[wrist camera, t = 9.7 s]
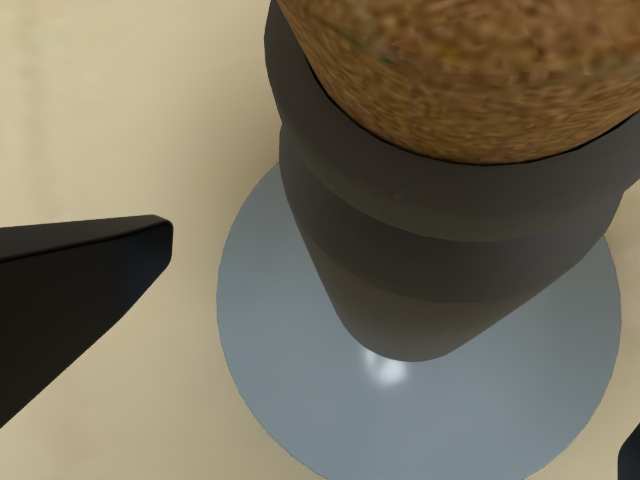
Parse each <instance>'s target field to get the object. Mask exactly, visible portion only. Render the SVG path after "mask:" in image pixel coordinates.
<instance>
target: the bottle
mask: <svg viewBox="0 0 640 480" xmlns="http://www.w3.org/2000/svg"><path fill="white" fill-rule="evenodd" d="M264 47H265V61H266V68H267V72H268V77H269V81H270V85H271V88H272V92H273V95H274V98H275V102H276V105H277V109H278V112H279V115H280V118H281V121H282V126H281V130H280V145H279V165H280V172H281V178H282V182H283V186H284V190H285V194H286V198H287V201H288V204H289V206H290V209H291V211H292V214H293V217H294V219H295V222H296V224H297V227H298V229H299V232H300V234H301V236H302V238H303V241H304V243H305V245H306V248H307V250H308V252H309V254H310V257H311V259H312V261H313V264H314V266H315V268H316V270H317V273H318V275H319V277H320V280H321V282H322V284H323V286H324V288H325V290H326V292H327V295H328V297H329V299H330V301H331V303H332V305H333V308H334V310H335V312H336V314H337V316H338V317H339V319H340V321H341V322H342V324H343V326H344V327H345V328H346V329H347V331H348V332H349V333H350V334H351V336H352V337H353V338H354V339H356V340H357V341H358V342H359V343H360V344H361V345H362V346H364V347H365V348H367V349H368V350H370V351H372V352H374V353H376V354H377V355H380V356H382V357H385V358H388V359H392V360H396V361H403V362H423V361H428V360H432V359H436V358H439V357H442V356H444V355H447V354H448V353H450V352H452V351H454V350H455V349H457V348H459V347H461V346H462V345H464V344H465V343H467V342H468V341H470V340H472V339H473V338H475V337H476V336H478V335H479V334H481V333H482V332H484V331H485V330H487V329H488V328H490V327H491V326H492V325H494V324H495V323H497V322H498V321H500V320H501V319H503V318H504V317H506V316H507V315H509V314H510V313H512V312H513V311H514V310H516V309H517V308H519V307H520V306H522V305H523V304H525V303H526V302H528V301H529V300H531V299H532V298H533V297H535V296H536V295H537V294H539V293H540V292H541V291H543V290H544V289H545V288H547V287H548V286H549V285H551V284H552V283H553V282H555V281H556V280H557V279H558V278H560V277H561V276H562V275H564V274H565V273H566V272H568V271H569V270H570V269H571V268H573V267H574V266H575V265H576V264H577V263H579V262H580V261H581V260H582V259H583V258H584V257H585V255H586V254H587V253H588V252H589V251H590V250H591V248H592V247H593V246H594V245H595V244H596V243H597V241H598V240H599V239H600V238H601V237H602V236H603V234H604V233H605V232H606V230H607V228H608V227H609V225H610V223H611V222H612V219H613V217H614V215H615V213H616V211H617V208H618V206H619V204H620V201H621V198H622V196H623V193H624V191H626V190H627V189H628V188H629V187H630V186H632V185H633V184H634V183H635V182H636V181H637V180H639V179H640V0H271V2H270V7H269V12H268V17H267V22H266V27H265V34H264Z"/></svg>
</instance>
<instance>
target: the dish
mask: <svg viewBox="0 0 640 480" xmlns="http://www.w3.org/2000/svg"><path fill="white" fill-rule="evenodd" d="M216 298H217V321H218V327H219V333H220V339H221V345H222V348H223V351H224V355H225V358H226V361H227V365H228V368H229V371H230V373H231V375H232V377H233V379H234V382H235V384H236V386H237V388H238V390H239V393H240V394H241V396H242V397H243V399H244V401H245V402H246V404H247V405H248V407H249V409H250V410H251V412H252V413H253V415H254V417H255V418H256V419H257V420H258V421H259V423H260V424H261V425H262V426H263V427H264V429H265V430H266V431H267V432H268V433H269V435H270V436H271V437H272V438H273V439H274V440H275V441H276V442H277V443H278V444H279V445H280V446H282V447H283V448H284V449H285V450H286V451H287V452H288V453H289V454H290V455H291V456H292V457H294V458H295V459H297V460H298V461H299V462H301V463H302V464H304V465H305V466H307V467H308V468H309V469H311V470H312V471H314V472H315V473H317V474H318V475H320V476H322V477H324V478H326V479H328V480H523V479H525V478H527V477H528V476H530V475H532V474H533V473H535V472H537V471H538V470H540V469H541V468H543V467H545V466H546V465H547V464H548V463H549V462H550V461H552V460H553V459H554V458H555V457H556V456H558V455H559V454H560V453H561V452H562V451H563V450H565V449H566V448H567V447H568V446H569V444H570V443H571V442H572V441H573V440H574V439H575V437H576V436H577V435H578V434H579V433H580V432H581V430H582V429H583V428H584V427H585V426H586V424H587V423H588V421H589V419H590V418H591V416H592V415H593V413H594V411H595V410H596V408H597V407H598V405H599V403H600V402H601V399H602V397H603V395H604V392H605V390H606V388H607V385H608V383H609V381H610V378H611V376H612V372H613V368H614V364H615V360H616V356H617V353H618V349H619V339H620V329H621V303H620V291H619V285H618V280H617V275H616V269H615V266H614V263H613V260H612V257H611V254H610V251H609V248H608V245H607V242H606V240H605V238H604V236H602V237H601V238H600V239H599V240H598V241H597V243H596V244H595V245H594V246H593V247H592V248H591V250H590V251H589V252H588V253H587V254H586V255H585V257H584V258H583V259H582V260H581V261H580V262H579V263H577V264H576V265H575V266H574V267H573V268H571V269H570V270H569V271H568V272H566V273H565V274H564V275H562V276H561V277H560V278H558V279H557V280H556V281H555V282H553V283H552V284H551V285H549V286H548V287H547V288H545V289H544V290H543V291H541V292H540V293H539V294H537V295H536V296H535V297H533V298H532V299H531V300H529V301H528V302H526V303H525V304H523V305H522V306H520V307H519V308H517V309H516V310H514V311H513V312H512V313H510V314H509V315H507V316H506V317H504V318H503V319H501V320H500V321H498V322H497V323H495V324H494V325H492V326H491V327H490V328H488V329H487V330H485V331H484V332H482V333H481V334H479V335H478V336H476V337H475V338H473V339H472V340H470V341H468V342H467V343H465V344H464V345H462V346H461V347H459V348H457V349H455V350H454V351H452V352H450V353H448V354H447V355H444V356H442V357H439V358H436V359H432V360H428V361H423V362H403V361H396V360H392V359H388V358H385V357H382V356H380V355H377V354H376V353H374V352H372V351H370V350H368V349H367V348H365V347H364V346H362V345H361V344H360V343H359V342H358V341H357V340H356V339H354V338H353V337H352V336H351V334H350V333H349V332H348V331H347V329H346V328H345V327H344V326H343V324H342V322H341V321H340V319H339V317H338V316H337V314H336V312H335V310H334V308H333V305H332V303H331V301H330V299H329V297H328V295H327V292H326V290H325V288H324V286H323V284H322V282H321V280H320V277H319V275H318V273H317V270H316V268H315V266H314V264H313V261H312V259H311V257H310V254H309V252H308V250H307V248H306V245H305V243H304V241H303V238H302V236H301V234H300V232H299V229H298V227H297V224H296V222H295V219H294V217H293V214H292V211H291V209H290V206H289V204H288V201H287V198H286V194H285V190H284V186H283V182H282V178H281V172H280V165H279V162H278V163H277V164H276V165H275V166H274V167H273V168H272V169H271V170H270V171H269V172H268V173H267V174H266V175H265V176H264V177H263V179H262V180H261V181H260V182H259V183H258V184H257V185H256V186H255V188H254V189H253V191H252V192H251V194H250V195H249V197H248V198H247V200H246V201H245V202H244V204H243V205H242V207H241V209H240V211H239V213H238V215H237V217H236V219H235V221H234V223H233V225H232V227H231V230H230V233H229V235H228V238H227V241H226V243H225V246H224V250H223V254H222V258H221V263H220V267H219V273H218V283H217V294H216Z"/></svg>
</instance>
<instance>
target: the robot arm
mask: <svg viewBox="0 0 640 480" xmlns="http://www.w3.org/2000/svg"><path fill="white" fill-rule="evenodd" d="M172 243H173V225H172V223H171V222H170V221H169V220H167V219H164V218H162V217H159V216H157V215H140V216H129V217H118V218H106V219H95V220H83V221H72V222H60V223H49V224H37V225H26V226H14V227H3V228H0V429H1V428H2V427H3V426H4V425H5V424H6V423H7V422H8V421H9V420H11V419H12V418H13V417H14V416H15V415H16V414H17V413H18V412H19V411H20V410H22V409H23V408H24V407H25V406H26V405H27V404H28V403H29V402H30V401H31V400H32V399H34V398H35V397H36V396H37V395H38V394H39V393H40V392H41V391H42V390H43V389H45V388H46V387H47V386H48V385H49V384H50V383H51V382H52V381H53V380H54V379H56V378H57V377H58V376H59V375H60V374H61V373H62V372H63V371H64V370H65V369H66V368H68V367H69V366H70V365H71V364H72V363H73V362H74V361H75V360H76V359H77V358H79V357H80V356H81V355H82V354H83V353H84V352H85V351H86V350H87V349H88V348H90V347H91V346H92V345H93V344H94V343H95V342H96V341H97V340H98V339H99V338H100V337H102V336H103V335H104V334H105V333H106V332H107V331H108V330H109V329H110V328H111V327H113V326H114V325H115V324H116V323H117V322H118V321H119V320H120V319H121V318H122V317H123V316H124V315H125V314H126V313H127V311H128V310H129V309H130V308H131V307H132V306H133V305H134V304H135V303H136V301H137V300H138V299H139V298H140V297H141V296H142V295H143V294H144V292H145V291H146V290H147V289H148V288H149V287H150V286H151V285H152V283H153V282H154V281H155V280H156V279H157V278H158V277H159V276H160V274H161V273H162V272H163V271H164V270H165V269H166V268H167V266H168V265H169V263H170V260H171V256H172ZM618 480H640V423H639V424H638V426H637V427H636V428H635V429H634V431H633V432H632V433H631V435H630V436H629V437H628V438H627V440H626V441H625V442H624V443H623V445H622V447H621V449H620V451H619V455H618Z"/></svg>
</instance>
